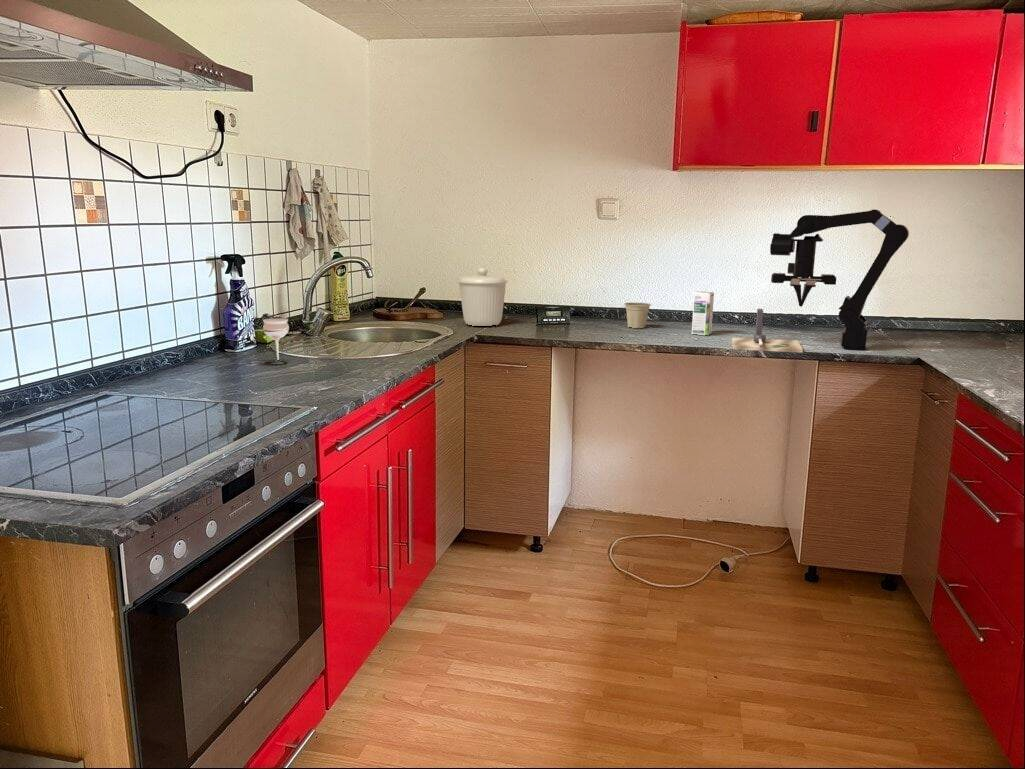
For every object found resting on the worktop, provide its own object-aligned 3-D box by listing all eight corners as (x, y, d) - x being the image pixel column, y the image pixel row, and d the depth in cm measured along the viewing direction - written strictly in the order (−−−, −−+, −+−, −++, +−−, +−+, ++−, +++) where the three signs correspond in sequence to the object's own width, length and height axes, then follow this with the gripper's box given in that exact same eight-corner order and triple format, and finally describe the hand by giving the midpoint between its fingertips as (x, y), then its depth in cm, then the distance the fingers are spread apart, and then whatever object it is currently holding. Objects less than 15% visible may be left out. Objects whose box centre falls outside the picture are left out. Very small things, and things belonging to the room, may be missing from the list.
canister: (515, 323, 287) (515, 266, 282) (494, 330, 271) (494, 269, 266) (472, 320, 294) (471, 265, 289) (449, 327, 278) (448, 268, 273)
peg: (763, 336, 251) (765, 308, 249) (767, 346, 231) (769, 317, 230) (752, 336, 252) (754, 308, 250) (754, 346, 232) (756, 316, 230)
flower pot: (650, 326, 282) (651, 302, 280) (649, 330, 273) (650, 305, 271) (624, 325, 284) (625, 302, 282) (622, 329, 275) (623, 305, 273)
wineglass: (285, 366, 207) (282, 321, 204) (261, 365, 208) (258, 321, 205) (295, 361, 214) (292, 318, 211) (271, 360, 214) (269, 317, 212)
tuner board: (797, 343, 246) (797, 339, 246) (802, 352, 230) (802, 348, 230) (732, 340, 251) (732, 336, 251) (733, 349, 235) (733, 345, 235)
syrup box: (690, 334, 263) (693, 292, 259) (695, 332, 268) (697, 290, 265) (707, 336, 260) (710, 293, 257) (711, 333, 265) (714, 291, 262)
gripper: (833, 255, 244) (829, 304, 248) (772, 254, 249) (768, 302, 252) (838, 257, 234) (833, 308, 237) (774, 256, 239) (770, 306, 242)
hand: (800, 306), depth 242 cm, fingers closed
